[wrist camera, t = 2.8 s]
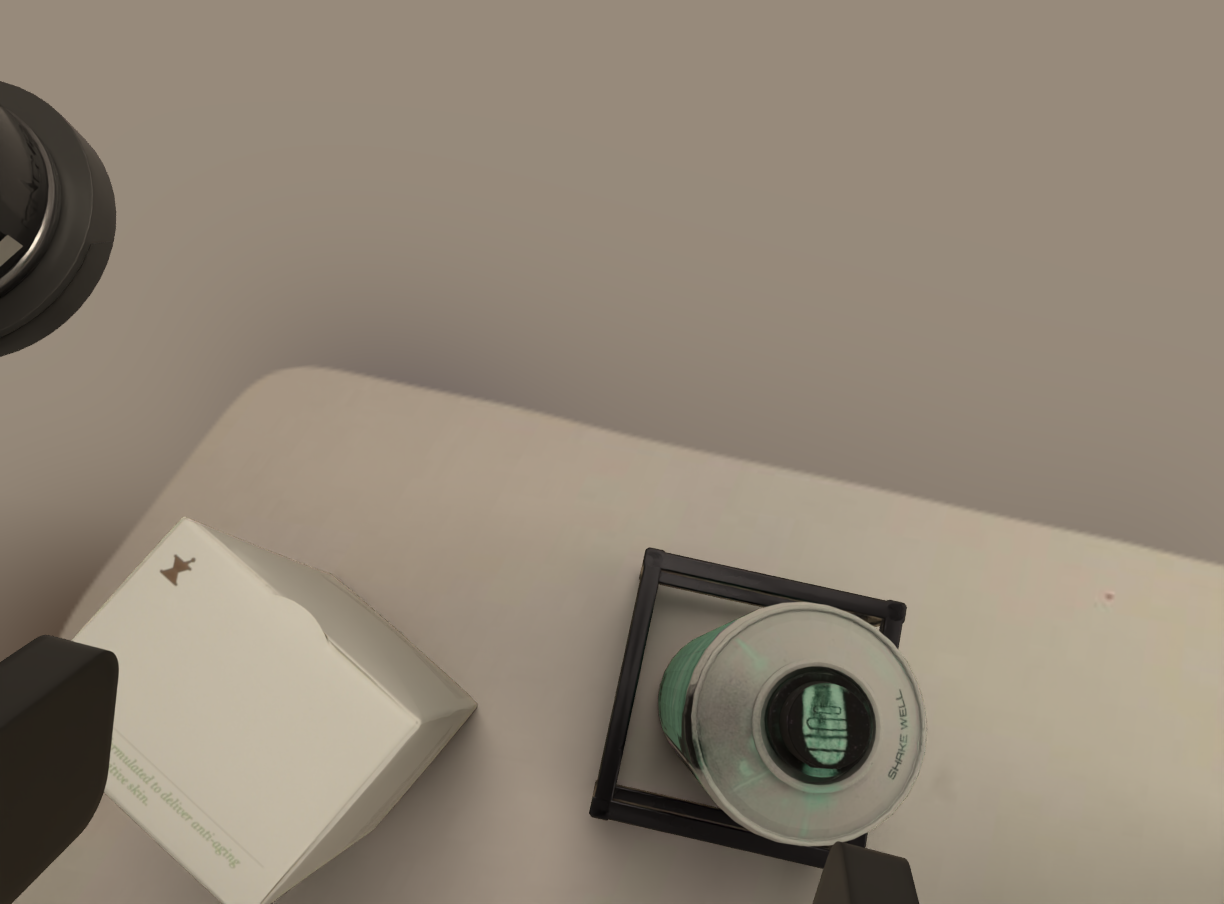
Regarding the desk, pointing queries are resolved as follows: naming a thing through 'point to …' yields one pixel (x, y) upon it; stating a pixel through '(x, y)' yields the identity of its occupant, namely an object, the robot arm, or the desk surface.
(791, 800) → the spray can
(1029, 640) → the desk surface
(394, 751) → the cosmetic box
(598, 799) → the black open cube frame
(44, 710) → the robot arm
